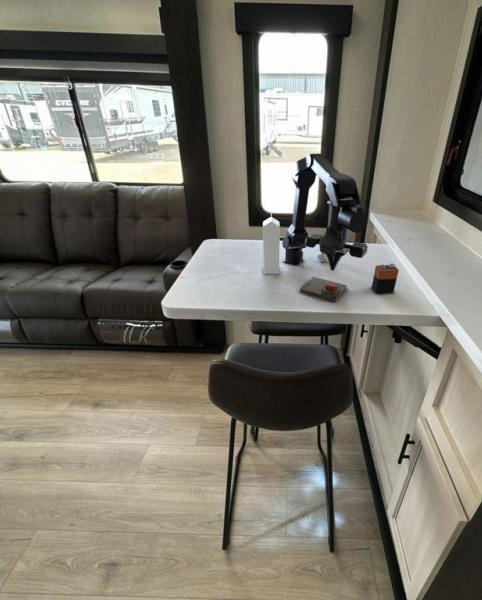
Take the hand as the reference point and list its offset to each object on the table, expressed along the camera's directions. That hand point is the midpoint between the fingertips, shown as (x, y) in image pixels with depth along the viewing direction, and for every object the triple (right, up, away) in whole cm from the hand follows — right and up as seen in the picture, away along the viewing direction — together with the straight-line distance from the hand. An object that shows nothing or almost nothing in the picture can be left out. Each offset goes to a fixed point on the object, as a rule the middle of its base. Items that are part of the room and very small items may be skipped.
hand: (332, 270), depth 99 cm
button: (0, -6, +3) cm, 7 cm away
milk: (-21, +2, +21) cm, 30 cm away
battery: (+19, -6, +10) cm, 22 cm away
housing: (-2, -6, +8) cm, 11 cm away
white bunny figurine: (0, +7, +32) cm, 33 cm away
